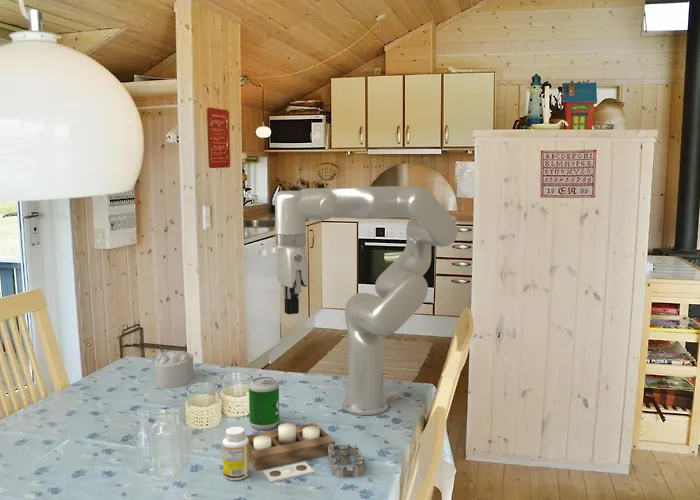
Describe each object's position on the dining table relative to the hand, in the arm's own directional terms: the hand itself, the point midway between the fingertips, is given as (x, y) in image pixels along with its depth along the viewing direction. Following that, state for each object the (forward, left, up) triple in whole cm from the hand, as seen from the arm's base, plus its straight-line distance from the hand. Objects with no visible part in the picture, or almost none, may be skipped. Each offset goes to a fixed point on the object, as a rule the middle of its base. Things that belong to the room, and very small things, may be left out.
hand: (291, 313), depth 164 cm
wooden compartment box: (+7, +15, -29) cm, 33 cm away
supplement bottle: (+21, +21, -29) cm, 42 cm away
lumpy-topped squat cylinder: (+21, -47, -29) cm, 59 cm away
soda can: (+7, -2, -29) cm, 30 cm away
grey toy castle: (-2, +27, -30) cm, 40 cm away
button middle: (+7, +15, -27) cm, 31 cm away
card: (+10, +25, -29) cm, 39 cm away
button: (+1, +14, -29) cm, 32 cm away
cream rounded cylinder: (+13, +14, -28) cm, 35 cm away
